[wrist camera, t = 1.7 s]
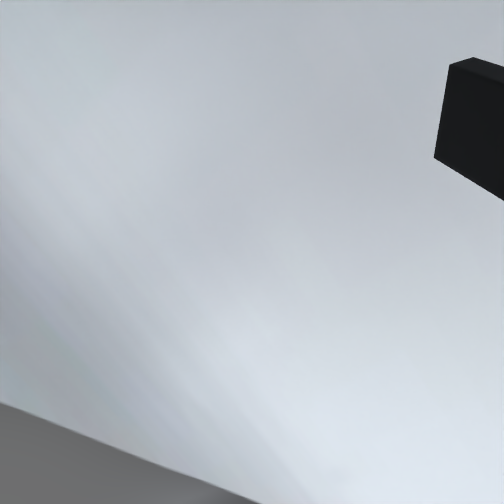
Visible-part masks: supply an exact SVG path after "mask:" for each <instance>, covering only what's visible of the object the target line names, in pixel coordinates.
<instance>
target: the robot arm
mask: <svg viewBox="0 0 504 504" xmlns="http://www.w3.org/2000/svg"><path fill="white" fill-rule="evenodd" d="M434 158H435V159H437V160H438V161H440V162H442V163H443V164H445V165H446V166H448V167H450V168H451V169H453V170H455V171H456V172H458V173H459V174H461V175H463V176H464V177H466V178H468V179H469V180H471V181H472V182H474V183H476V184H477V185H479V186H481V187H482V188H484V189H485V190H487V191H489V192H490V193H492V194H494V195H495V196H497V197H498V198H500V199H502V200H503V201H504V67H503V66H500V65H497V64H493V63H490V62H487V61H484V60H481V59H478V58H475V57H472V58H469V59H466V60H462V61H459V62H456V63H453V64H450V65H449V70H448V76H447V82H446V88H445V94H444V100H443V105H442V111H441V117H440V123H439V129H438V135H437V141H436V147H435V153H434Z"/></svg>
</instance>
